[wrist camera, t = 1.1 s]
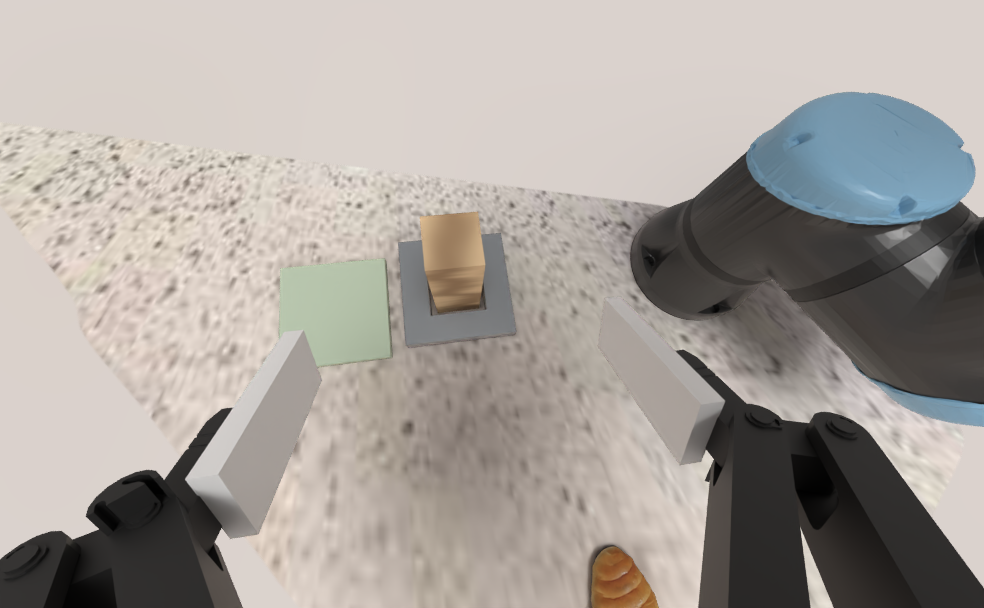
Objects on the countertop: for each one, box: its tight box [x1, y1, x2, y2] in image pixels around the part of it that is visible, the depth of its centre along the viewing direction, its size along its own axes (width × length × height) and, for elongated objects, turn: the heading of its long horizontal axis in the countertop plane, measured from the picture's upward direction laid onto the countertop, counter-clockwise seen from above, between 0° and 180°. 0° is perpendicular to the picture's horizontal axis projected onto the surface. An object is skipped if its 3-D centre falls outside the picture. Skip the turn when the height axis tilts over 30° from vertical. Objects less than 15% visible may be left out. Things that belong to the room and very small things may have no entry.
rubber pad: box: [279, 258, 392, 367], centre depth 40 cm, size 12×12×1 cm
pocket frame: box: [398, 233, 516, 348], centre depth 42 cm, size 12×12×2 cm
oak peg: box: [420, 212, 485, 313], centre depth 36 cm, size 5×5×14 cm
